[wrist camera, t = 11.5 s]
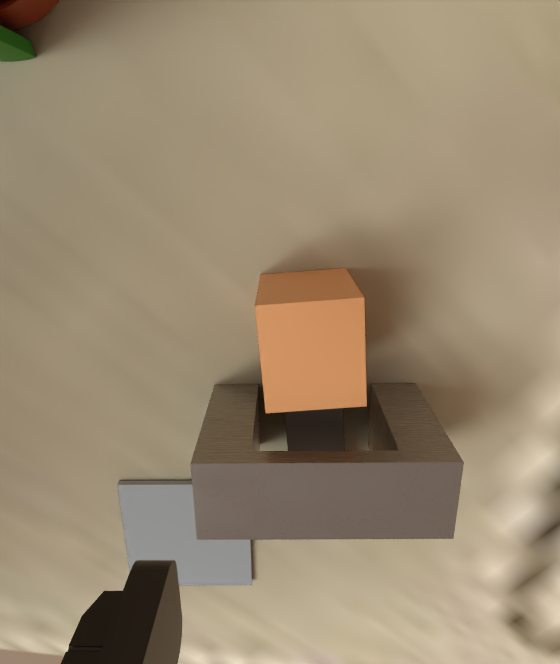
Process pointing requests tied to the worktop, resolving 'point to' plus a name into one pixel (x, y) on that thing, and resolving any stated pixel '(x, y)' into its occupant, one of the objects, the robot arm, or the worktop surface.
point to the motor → (19, 26)
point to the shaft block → (326, 475)
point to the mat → (178, 535)
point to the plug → (312, 353)
